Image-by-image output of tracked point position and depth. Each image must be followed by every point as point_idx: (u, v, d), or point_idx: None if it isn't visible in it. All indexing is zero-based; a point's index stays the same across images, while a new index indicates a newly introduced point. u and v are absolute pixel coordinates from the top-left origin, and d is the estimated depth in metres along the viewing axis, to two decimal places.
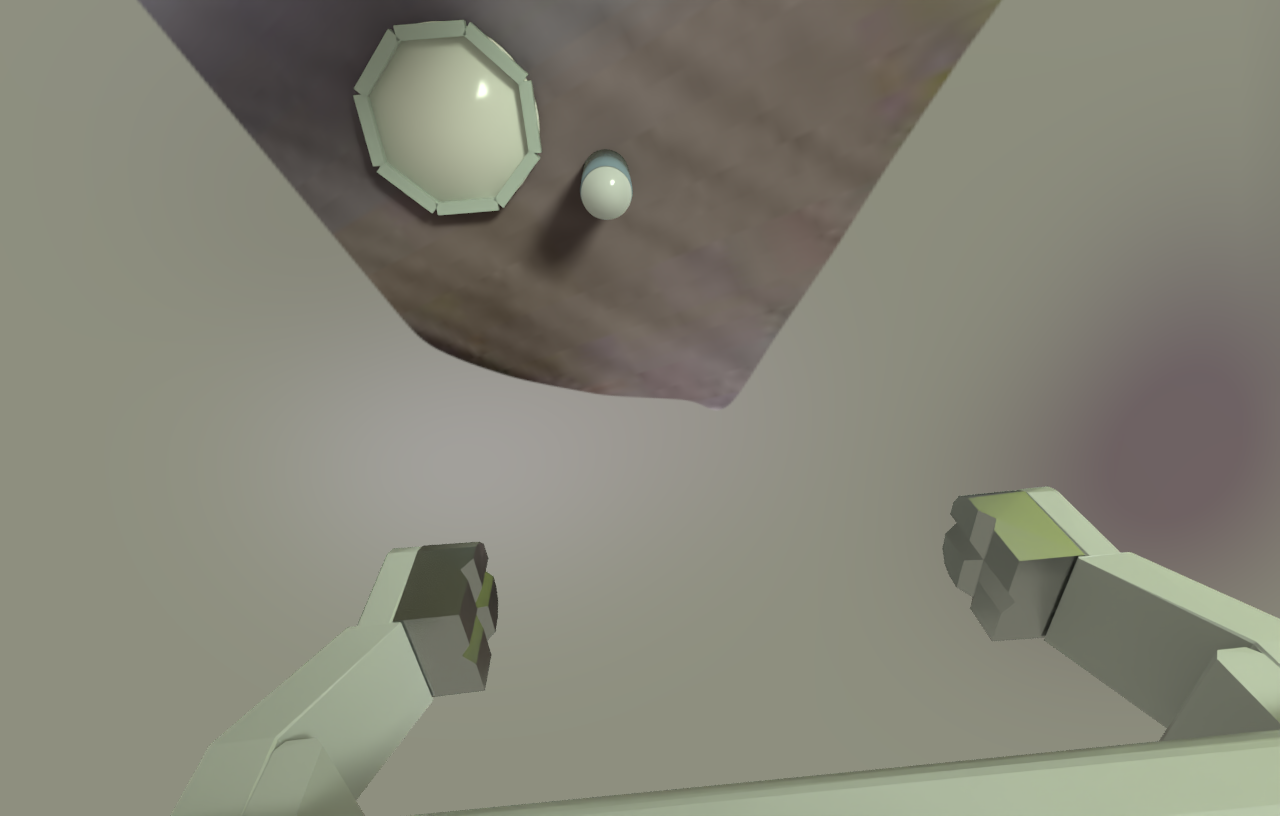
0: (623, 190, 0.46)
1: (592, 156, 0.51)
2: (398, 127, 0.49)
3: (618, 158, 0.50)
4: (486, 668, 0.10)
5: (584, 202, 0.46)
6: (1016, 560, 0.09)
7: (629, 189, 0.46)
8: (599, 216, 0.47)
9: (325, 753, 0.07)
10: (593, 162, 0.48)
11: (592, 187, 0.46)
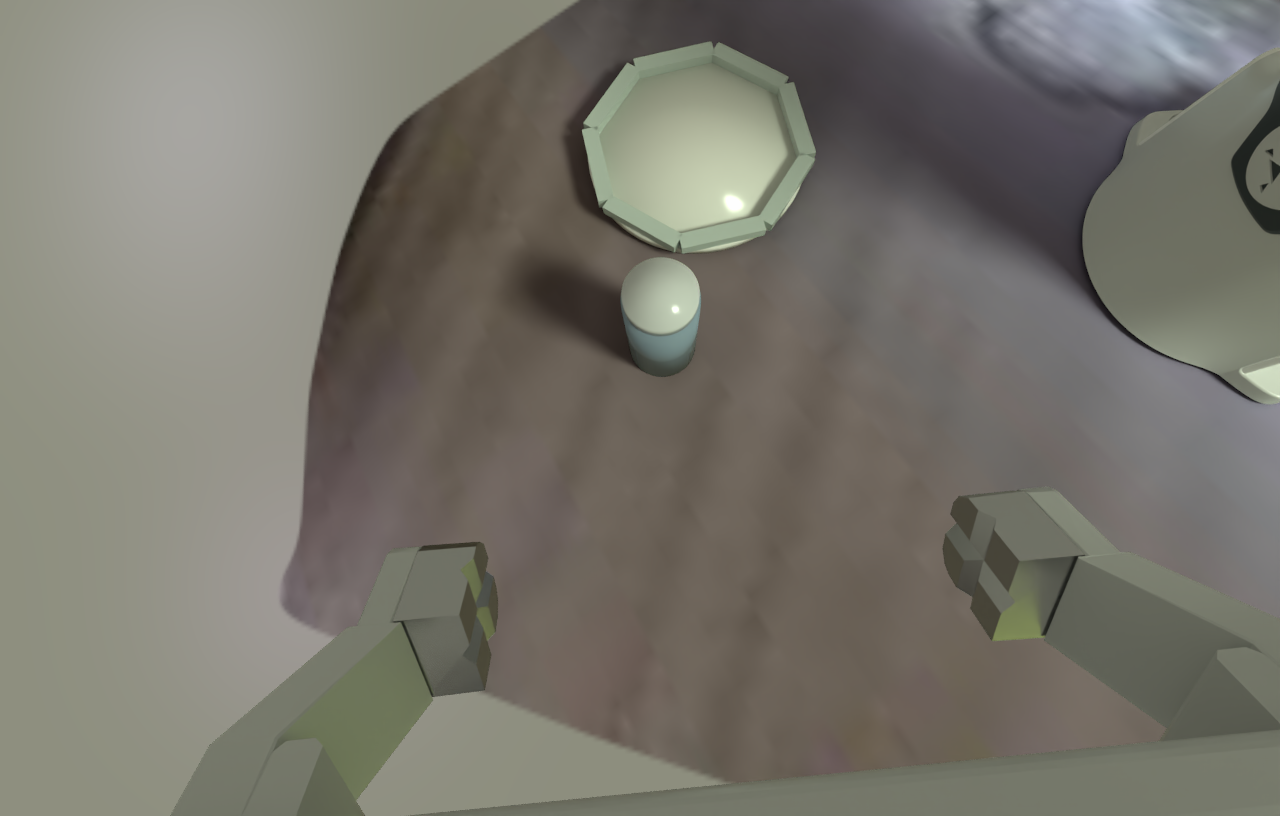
0: (669, 317, 0.29)
1: None
2: (681, 91, 0.40)
3: (694, 343, 0.34)
4: (486, 668, 0.10)
5: (643, 264, 0.30)
6: (1016, 560, 0.09)
7: (672, 326, 0.29)
8: (625, 288, 0.30)
9: (325, 753, 0.07)
10: None
11: (667, 272, 0.30)
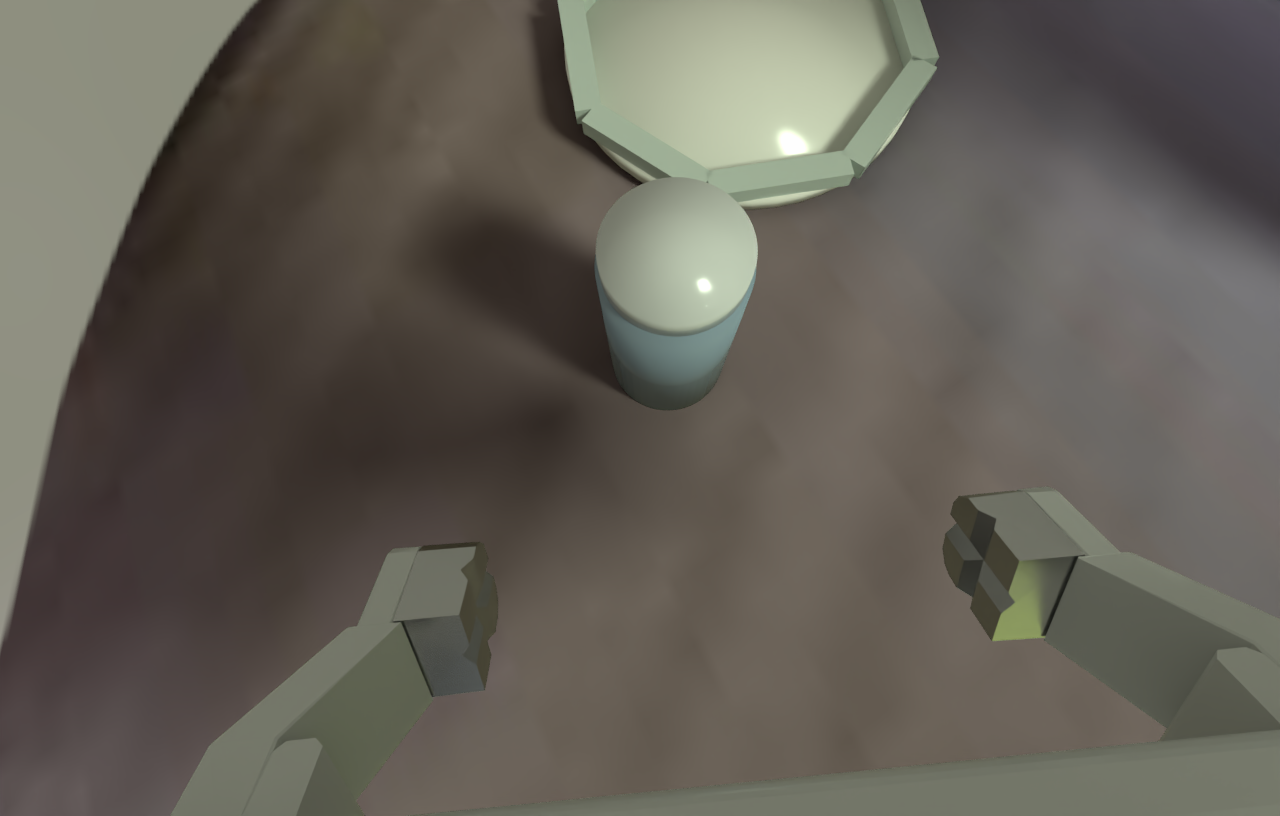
0: (693, 298, 0.14)
1: None
2: None
3: (726, 355, 0.19)
4: (485, 668, 0.10)
5: (645, 188, 0.15)
6: (1016, 560, 0.09)
7: (698, 316, 0.14)
8: (605, 232, 0.14)
9: (325, 753, 0.07)
10: None
11: (692, 207, 0.15)
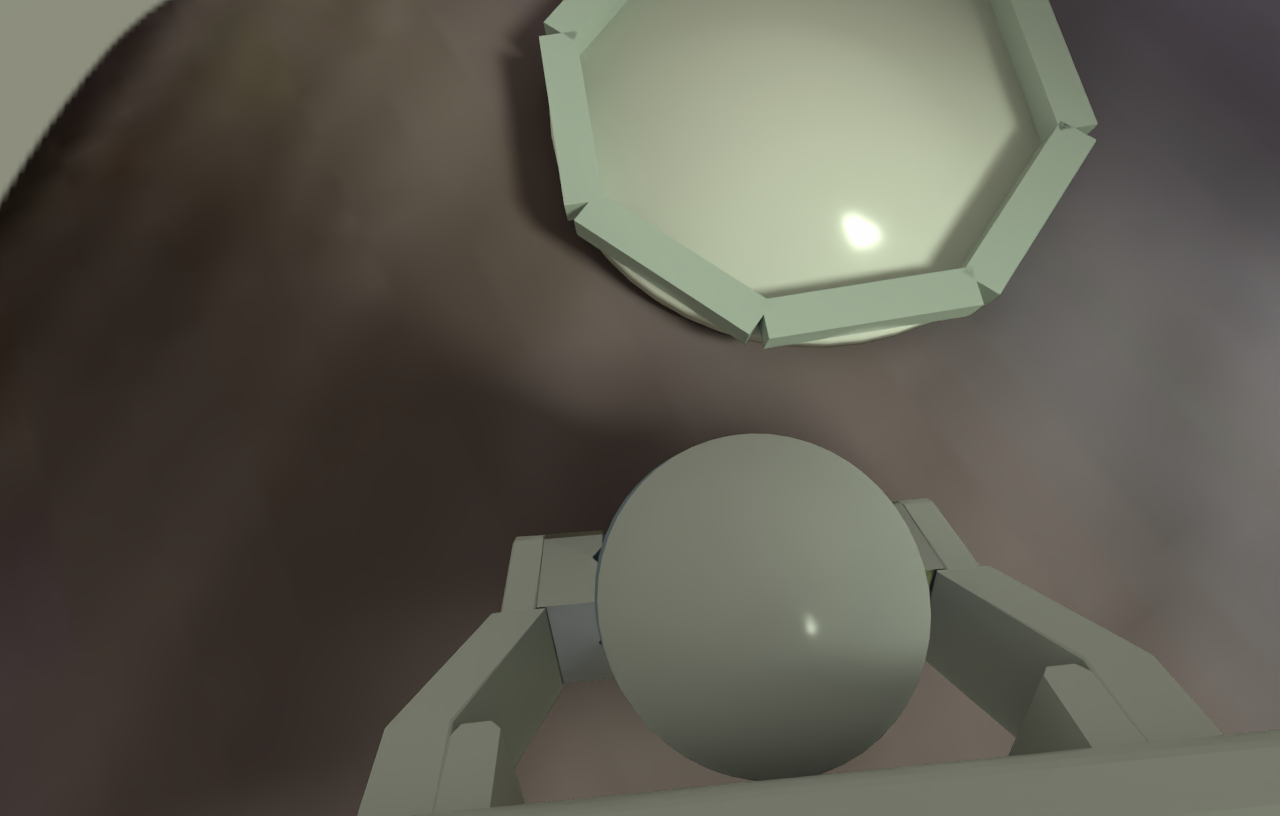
0: (803, 716, 0.07)
1: None
2: None
3: None
4: None
5: (694, 457, 0.07)
6: None
7: (816, 762, 0.07)
8: (616, 558, 0.07)
9: (502, 735, 0.07)
10: None
11: (792, 502, 0.07)
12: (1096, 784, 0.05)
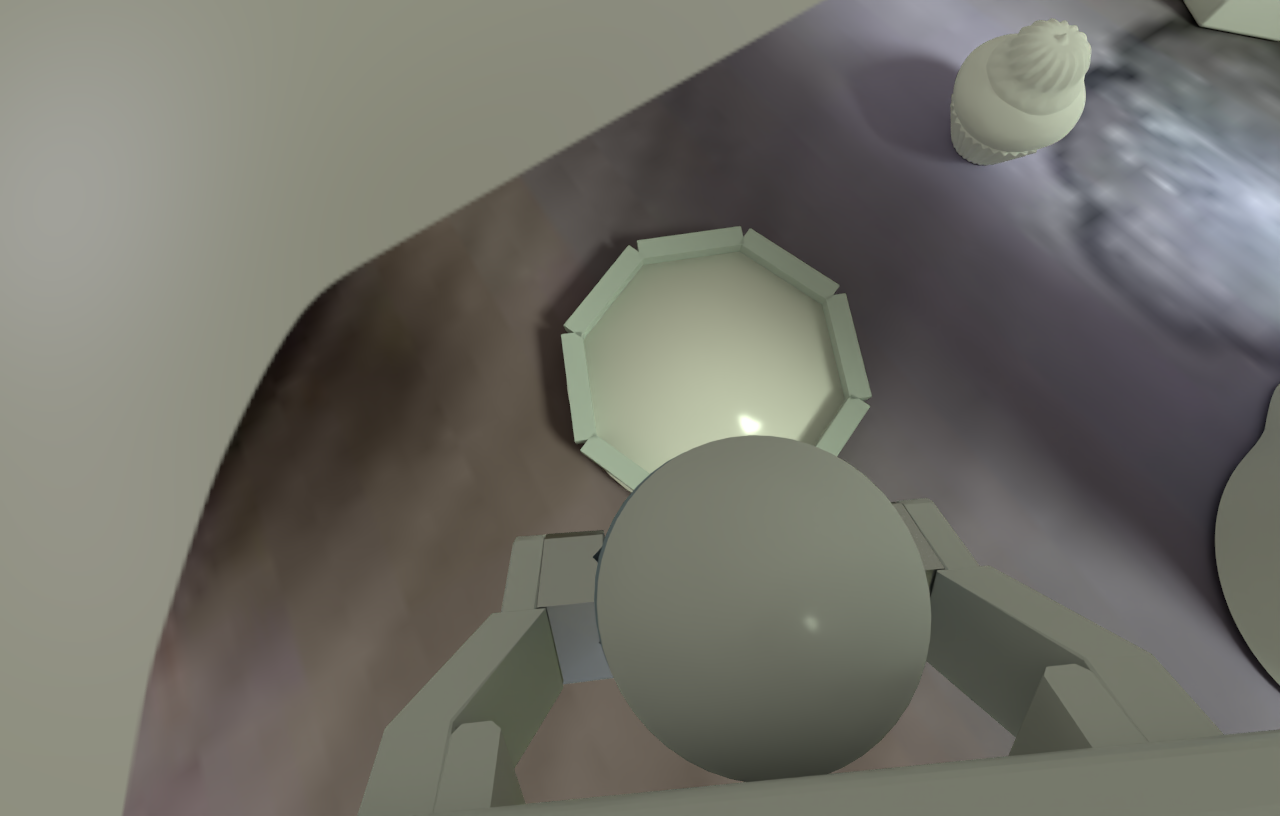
0: (802, 719, 0.07)
1: None
2: (697, 287, 0.30)
3: None
4: None
5: (694, 458, 0.07)
6: None
7: (815, 765, 0.07)
8: (615, 560, 0.07)
9: (502, 736, 0.07)
10: None
11: (792, 504, 0.07)
12: (1096, 784, 0.05)
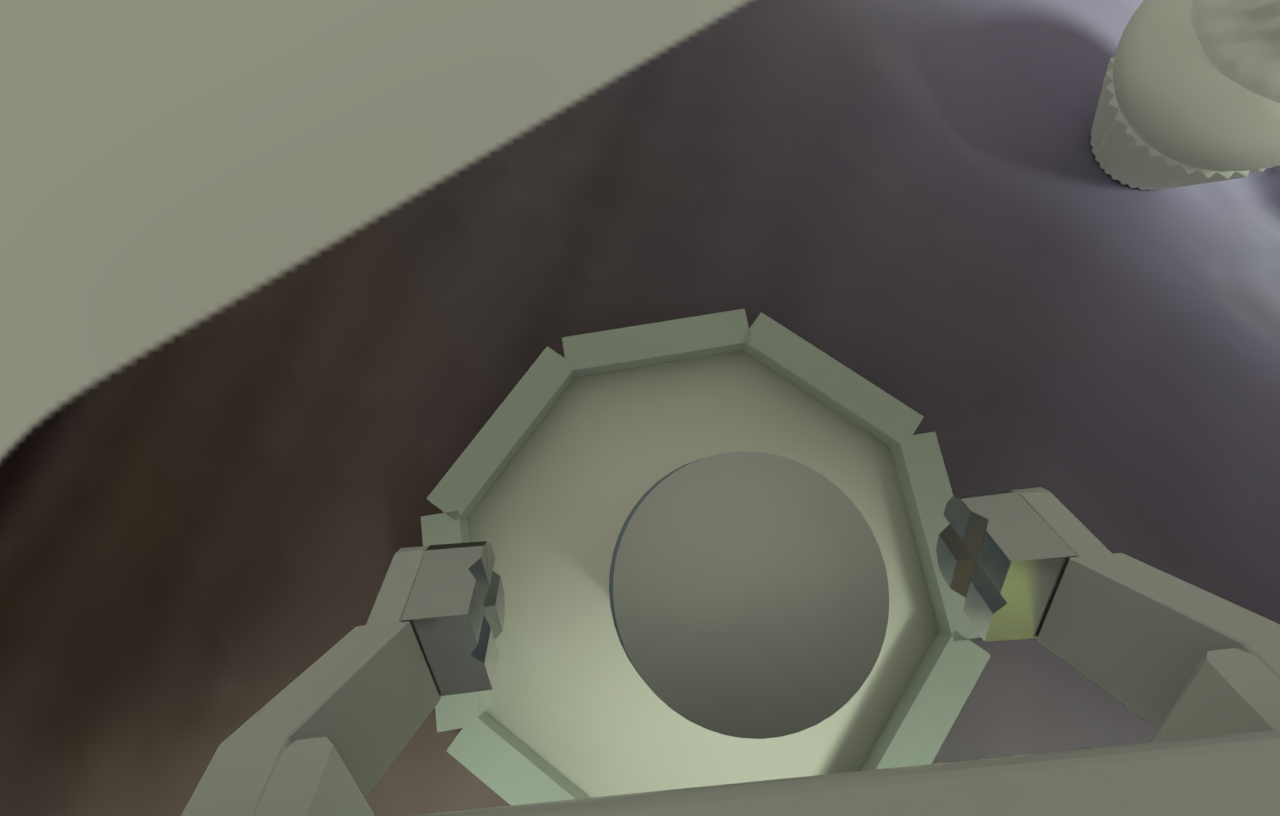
0: (782, 686, 0.08)
1: None
2: (670, 417, 0.17)
3: None
4: (493, 668, 0.10)
5: (694, 471, 0.09)
6: (1008, 561, 0.09)
7: (793, 723, 0.08)
8: (628, 556, 0.09)
9: (336, 752, 0.07)
10: None
11: (775, 509, 0.09)
12: (1096, 784, 0.05)
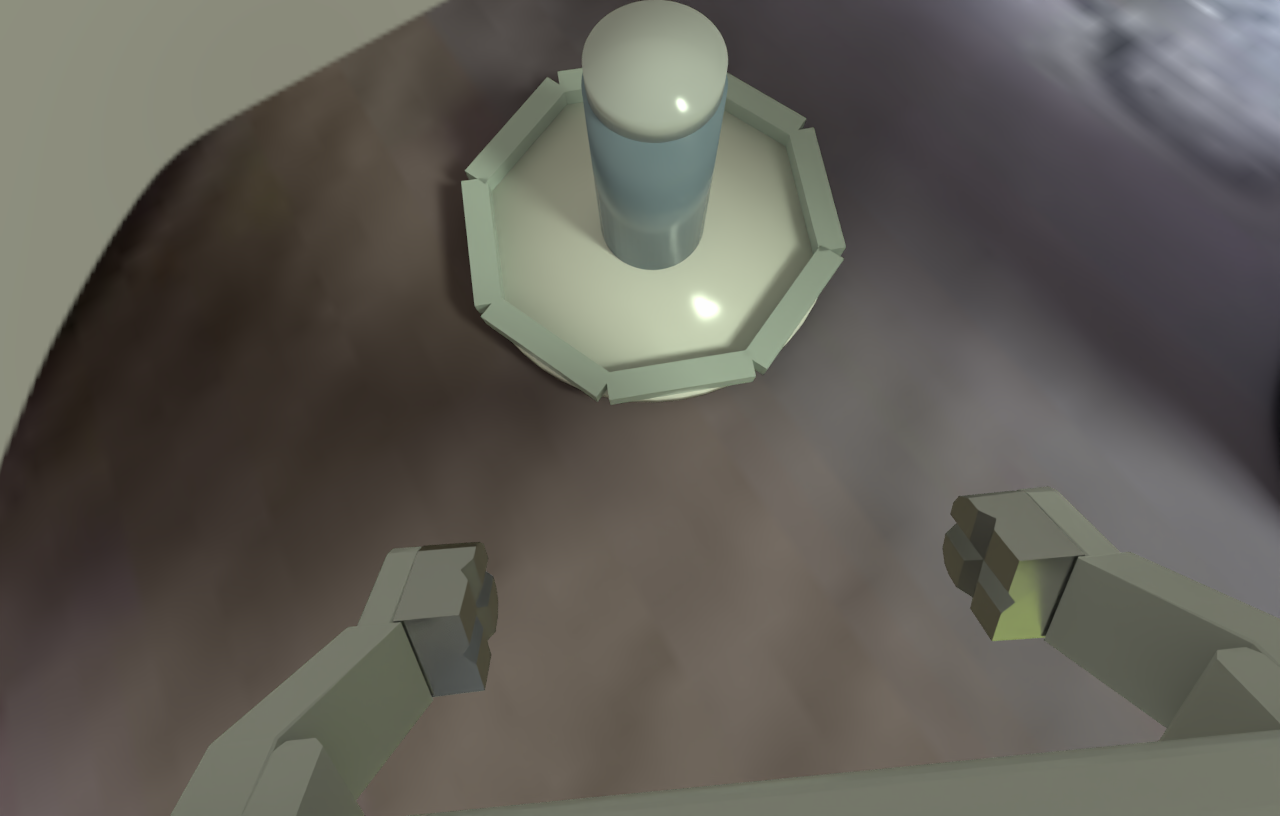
0: (669, 100, 0.16)
1: None
2: None
3: (705, 203, 0.21)
4: (485, 669, 0.10)
5: (626, 9, 0.16)
6: (1016, 560, 0.09)
7: (674, 115, 0.15)
8: (590, 46, 0.16)
9: (325, 753, 0.07)
10: None
11: (669, 25, 0.16)
12: (1096, 784, 0.05)
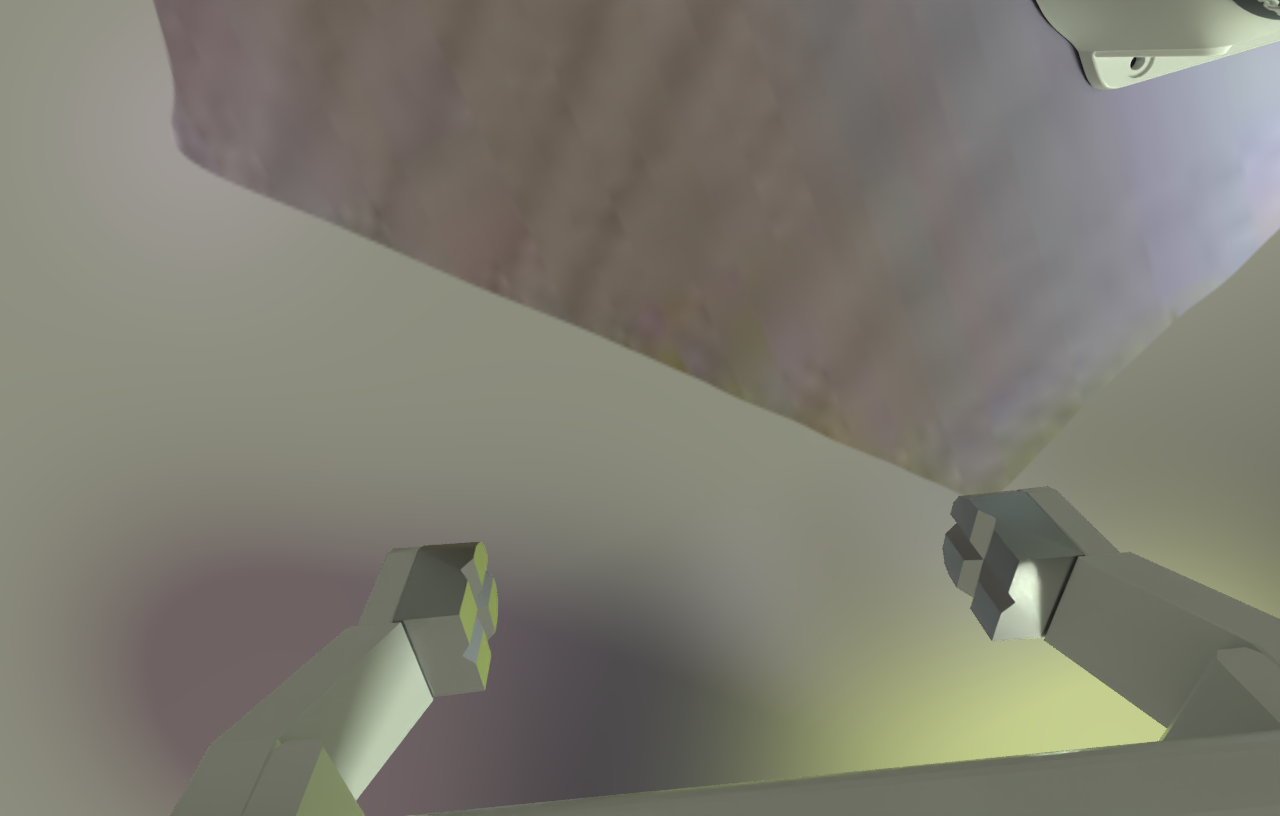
0: None
1: None
2: None
3: None
4: (486, 669, 0.10)
5: None
6: (1016, 560, 0.09)
7: None
8: None
9: (325, 753, 0.07)
10: None
11: None
12: (1096, 784, 0.05)
